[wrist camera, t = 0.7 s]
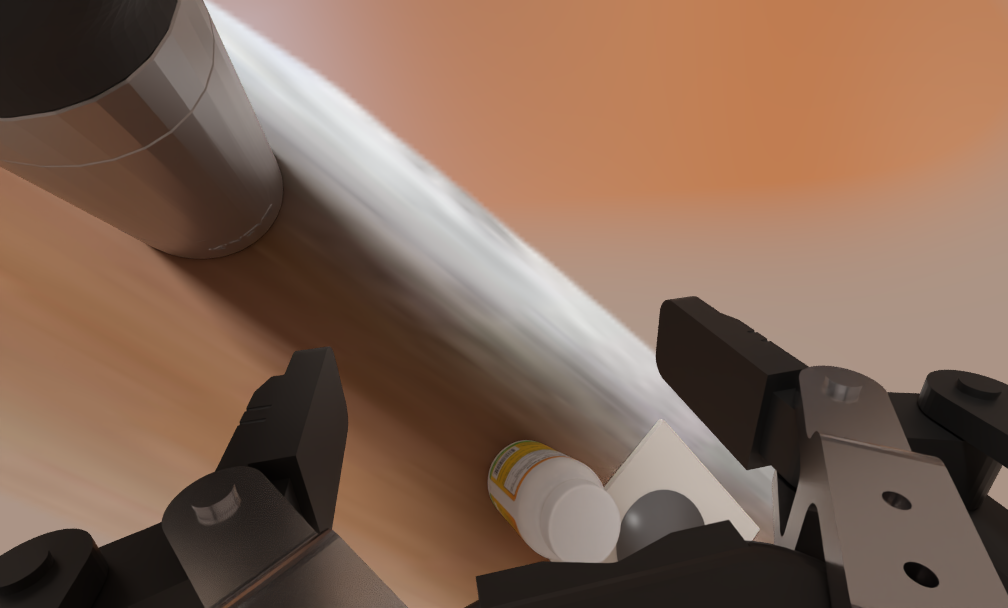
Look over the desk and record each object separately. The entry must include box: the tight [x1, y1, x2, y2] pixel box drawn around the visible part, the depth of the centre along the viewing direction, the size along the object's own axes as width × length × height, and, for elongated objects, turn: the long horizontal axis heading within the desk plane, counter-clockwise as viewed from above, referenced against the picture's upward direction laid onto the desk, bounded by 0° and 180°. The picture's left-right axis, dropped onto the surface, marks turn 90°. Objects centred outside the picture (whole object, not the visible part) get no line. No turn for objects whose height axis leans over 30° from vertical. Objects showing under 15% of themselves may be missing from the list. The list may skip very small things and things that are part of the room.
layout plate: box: [548, 419, 760, 563], centre depth 34 cm, size 12×13×1 cm
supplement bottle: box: [488, 440, 621, 563], centre depth 28 cm, size 5×5×10 cm
